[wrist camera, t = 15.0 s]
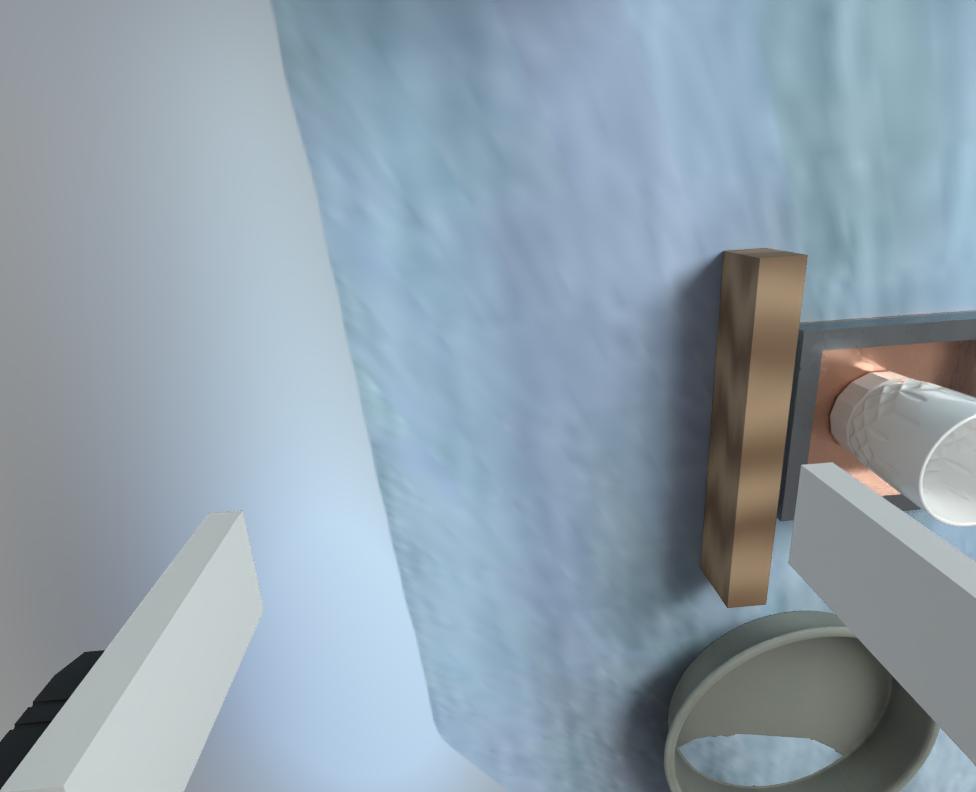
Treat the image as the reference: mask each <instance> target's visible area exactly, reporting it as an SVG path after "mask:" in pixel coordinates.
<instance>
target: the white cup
mask: <svg viewBox="0 0 976 792" xmlns="http://www.w3.org/2000/svg"><path fill="white" fill-rule="evenodd" d="M830 425H831V434H832V435H833V437H834V438H835V439H836V441H837V442H838V443H839V445H840V446H841V447H842V448H843V449H844V450H846V451H847V452H849V453H850V454H851V455H853V456H854V457H856V458H857V459H858V460H859V461H860V462H861V463H862V464H863V465H864V466H866V467H867V468H868V469H869V470H871V471H872V472H874V473H875V474H876V475H877V476H878V477H880V478H881V479H882V480H883V481H885V482H886V483H887V484H889V485H890V486H891V487H893V488H894V489H895V490H897V491H898V492H900V493H901V494H902V495H904V496H905V497H906V498H908V499H909V500H910V501H912V502H913V503H914V504H916V505H917V506H918V507H920V508H921V509H922V510H924V511H925V512H926V513H928V514H929V515H930V516H932V517H933V518H934V519H936V520H938V521H940V522H942V523H944V524H947V525H952V526H960V527H965V526H975V525H976V397H973V396H970V395H967V394H964V393H961V392H958V391H955V390H952V389H949V388H946V387H942V386H939V385H935V384H932V383H928V382H924V381H918V380H915V379H911V378H908V377H905V376H903V375H900V374H897V373H894V372H891V371H887V372H872V373H868V374H866V375H864V376H862V377H860V378H858V379H856V380H854V381H852V382H851V383H850V384H849V385H848V386H847V387H846V388H845V389H844V390H843V391H842V392H841V394H840V395H839V396H838V397H837V398H836V401H835V404H834V406H833V409H832V411H831V414H830Z"/></svg>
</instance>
